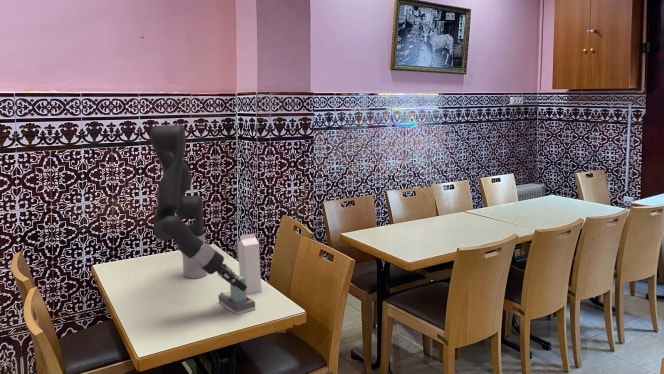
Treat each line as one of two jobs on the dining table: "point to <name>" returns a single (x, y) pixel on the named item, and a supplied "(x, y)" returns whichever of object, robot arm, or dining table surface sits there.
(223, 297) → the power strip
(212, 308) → the dining table surface
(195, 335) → the dining table surface
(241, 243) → the milk
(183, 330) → the dining table surface
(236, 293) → the block
